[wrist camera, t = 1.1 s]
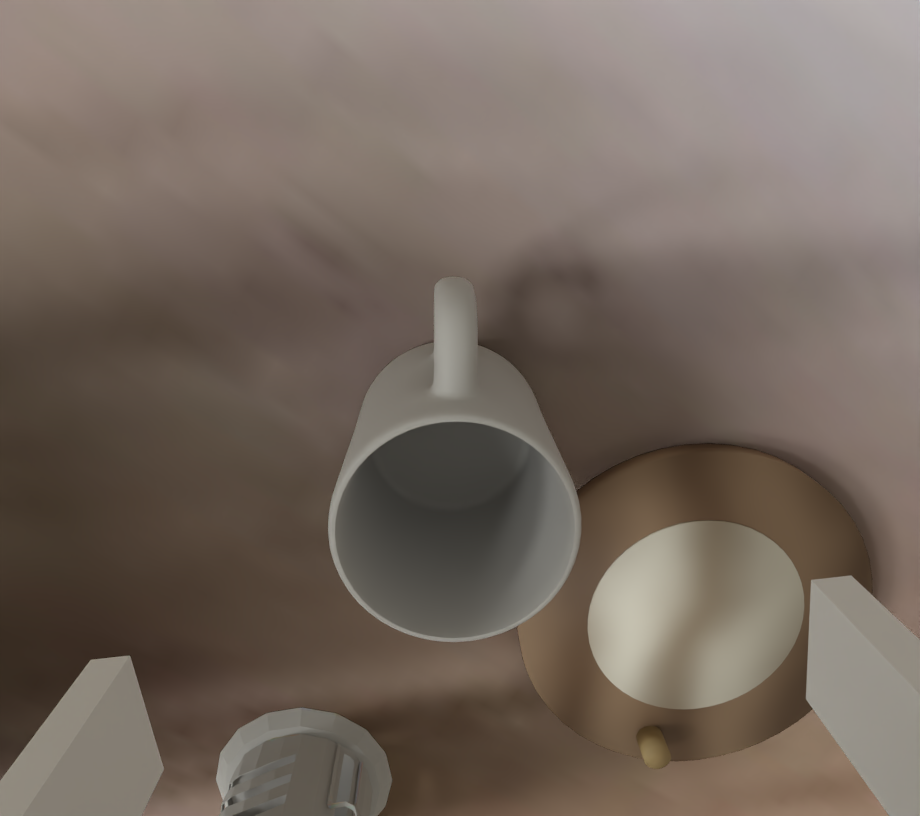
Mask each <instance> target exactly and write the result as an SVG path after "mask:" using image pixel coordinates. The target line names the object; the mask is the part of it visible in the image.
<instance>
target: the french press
mask: <svg viewBox="0 0 920 816" xmlns="http://www.w3.org/2000/svg"><path fill="white" fill-rule="evenodd" d="M216 781H217V784H218V787H219V790H220V793H221V796H222V799H223V802H222V805H221V813H220V815H219V816H378V815H379V813H380V812H381V811H382V810H383V809H384V808H385V806H386V803H387V799H388V795H389V791H390V787H391V783H392V777H391V773H390V768H389V764H388V760H387V756H386V753H385V752H384V750H383V749H382V748H381V747H380V746H379V744H378V743H377V742H376V741H375V739H374V738H373V737H372V736H371V735H370V733H369V732H368V731H367V730H366V729H364V728H363V727H361V726H359V725H357V724H355V723H353V722H352V721H350V720H348V719H346V718H344V717H343V716H341V715H339V714H337V713H332V712H326V711H320V710H314V709H308V708H302V707H301V708H295V709H289V710H282V711H276V712H270V713H266V714H264V715H262V716H261V717H259V718H257V719H255V720H253V721H252V722H250V723H248V724H246V725H244V726H243V727H241V728H239V729H238V730H237V731H236V733H235V734H234V735H233V737H232V738H231V739H230V741H229V742H228V743H227V745H226V746H225V747H224V748H223V750H222V751H221V752H220V758H219V764H218V770H217V776H216ZM224 805H225V807H226V808H225V809H224Z"/></svg>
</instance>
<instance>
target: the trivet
mask: <svg viewBox="0 0 920 816" xmlns="http://www.w3.org/2000/svg"><path fill="white" fill-rule="evenodd" d="M576 492H577V496H578V499H579V505H580V512H581V538H580V545H579V549H578V553H577V556H576V560H575V563H574V565H573V567H572V570H571V572H570V574H569V576H568V578H567V579H566V581H565V583H564V584H563V586H562V587H561V589H560V590H559V592H558V593H557V594H556V595H555V596H554V598H553V599H552V600H551V601H550V602H549V603H548V604H547V605H546V606H545V607H544V608H543V609H542V610H541V611H540V612H538V613H537V614H535V615H534V616H533V617H531V618H530V619H529V620H527V621H525V622H524V623H522V624H520V625H518V626H517V630H518V636H519V642H520V647H521V653H522V658H523V661H524V664H525V667H526V670H527V672H528V675H529V678H530V679H531V681H532V683H533V685H534V687H535V689H536V691H537V693H538V694H539V696H540V697H541V698H542V700H543V701H544V702H545V704H546V705H547V706H548V708H549V709H550V710H551V711H552V712H553V713H554V714H555V715H556V716H557V717H558V718H559V719H560V720H561V721H562V722H563V723H564V724H566V725H567V726H568V727H570V728H571V729H572V730H574V731H575V732H576V733H577V734H579V735H581V736H582V737H584V738H586V739H588V740H590V741H591V742H593V743H595V744H597V745H599V746H602V747H604V748H607V749H609V750H612V751H614V752H618V753H621V754H625V755H628V756H632V757H637V758H643V759H644V762H645V764H646V765H647V766H648V767H650V768H653V769H660V768H663V767H665V766H666V765H667V764H668V763H669V762H670V761H688V760H700V759H706V758H712V757H718V756H722V755H725V754H729V753H733V752H736V751H740V750H742V749H745V748H748V747H750V746H753V745H755V744H758V743H760V742H762V741H764V740H766V739H768V738H770V737H772V736H774V735H776V734H778V733H780V732H782V731H783V730H785V729H786V728H788V727H789V726H791V725H792V724H794V723H796V722H797V721H799V720H800V719H801V718H802V717H804V716H805V715H806V714H807V713H808V712H810V711H811V710H812V709H813V708H812V707H811V706H810V704H809V703H808V701H807V700H806V683H807V660H808V638H809V616H810V593H811V580H815V579H824V578H833V577H842V576H852V577H853V578H855V579H856V580H857V581H858V582H859V583H860V584H861V585H862V586H863V587H864V588H865V589H866V590H867V591H868V592H869V593H870V594H871V595H872V574H871V568H870V561H869V557H868V553H867V550H866V547H865V544H864V541H863V538H862V536H861V535H860V533H859V531H858V529H857V527H856V525H855V523H854V521H853V520H852V518H851V517H850V516H849V514H848V513H847V511H846V510H845V509H844V507H843V506H842V505H841V504H840V503H839V502H838V501H837V500H836V499H835V498H834V497H833V496H832V495H831V494H830V493H829V492H828V491H827V490H826V489H825V488H824V487H822V486H821V485H820V484H818V483H817V482H816V481H814V480H813V479H812V478H810V477H809V476H808V475H806V474H805V473H803V472H802V471H801V470H799V469H798V468H796V467H795V466H793V465H791V464H789V463H787V462H785V461H783V460H781V459H779V458H777V457H775V456H772V455H769V454H766V453H763V452H760V451H758V450H754V449H749V448H745V447H740V446H735V445H725V444H710V443H707V444H688V445H680V446H675V447H669V448H663V449H659V450H656V451H652V452H649V453H646V454H642V455H639V456H636V457H634V458H632V459H629V460H627V461H625V462H622V463H620V464H618V465H616V466H614V467H612V468H610V469H609V470H607V471H605V472H603V473H602V474H600V475H598V476H597V477H595V478H593V479H592V480H591V481H589V482H588V483H587V484H585V485H584V486H583V487H582V488H580V489H579V490H578V491H576Z"/></svg>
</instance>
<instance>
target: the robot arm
mask: <svg viewBox="0 0 920 816" xmlns="http://www.w3.org/2000/svg"><path fill="white" fill-rule="evenodd" d="M806 700H807V701H808V703H809V704H810V706H811V707H812V708H813V710H814V711H815V713H816V714H817V715H818V717H819V718H820V720H821V721H822V722H823V724H824V725H825V727H826V728H827V729H828V731H829V732H830V734H831V735H832V736H833V738H834V739H835V741H836V742H837V743H838V745H839V746H840V748H841V749H842V750H843V752H844V753H845V755H846V756H847V757H848V759H849V760H850V762H851V763H852V764H853V766H854V767H855V769H856V770H857V771H858V773H859V774H860V776H861V777H862V778H863V780H864V781H865V783H866V784H867V785H868V787H869V788H870V790H871V791H872V792H873V794H874V795H875V797H876V798H877V799H878V801H879V802H880V804H881V805H882V806H883V808H884V809H885V811H886V812H887V813H888V815H889V816H920V640H919V639H918V638H917V637H916V636H915V635H914V634H913V633H912V632H911V631H910V630H909V629H908V628H907V627H905V626H904V625H903V624H902V623H901V622H900V621H899V620H898V619H897V618H896V617H895V616H894V615H893V614H892V613H891V612H890V611H888V610H887V609H886V608H885V607H884V606H883V605H882V604H881V603H880V602H879V601H878V600H877V599H876V598H875V597H874V596H873V595H871V594H870V593H869V592H868V591H867V590H866V589H865V588H864V587H863V586H862V585H861V584H860V583H859V582H858V581H857V580H856V579H855V578H853V577H852V576H842V577H833V578H824V579H815V580H811V593H810V616H809V638H808V660H807V683H806ZM163 770H164V767H163V764H162V761H161V757H160V754H159V751H158V747H157V744H156V741H155V737H154V734H153V731H152V727H151V724H150V721H149V717H148V714H147V710H146V707H145V704H144V700H143V697H142V694H141V690H140V687H139V684H138V680H137V677H136V674H135V670H134V667H133V664H132V660H131V657H130V655H129V656H120V657H111V658H102V659H93V660H90V661H89V663H88V664H87V665H86V667H85V668H84V669H83V671H82V672H81V673H80V675H79V676H78V677H77V679H76V680H75V681H74V683H73V684H72V685H71V687H70V688H69V689H68V691H67V692H66V693H65V695H64V696H63V697H62V699H61V700H60V701H59V703H58V704H57V706H56V707H55V708H54V710H53V711H52V712H51V714H50V715H49V716H48V718H47V719H46V720H45V722H44V723H43V724H42V726H41V727H40V728H39V730H38V731H37V732H36V734H35V735H34V736H33V738H32V739H31V740H30V742H29V743H28V744H27V746H26V747H25V748H24V750H23V751H22V752H21V754H20V755H19V756H18V758H17V759H16V760H15V762H14V763H13V764H12V766H11V767H10V768H9V770H8V771H7V772H6V774H5V775H4V776H3V778H2V779H1V780H0V816H142V814H143V812H144V810H145V808H146V806H147V804H148V802H149V799H150V797H151V795H152V793H153V791H154V789H155V787H156V785H157V783H158V781H159V779H160V777H161V774H162V772H163Z"/></svg>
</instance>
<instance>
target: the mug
mask: <svg viewBox="0 0 920 816" xmlns="http://www.w3.org/2000/svg"><path fill="white" fill-rule="evenodd" d="M328 536H329V545H330V550H331V554H332V557H333V561H334V564H335V566H336V569H337V571H338V573H339V576H340V578H341V579H342V581H343V583H344V584H345V586H346V588H347V589H348V591H349V592H350V593H351V594H352V596H353V597H354V598H355V599H356V601H357V602H358V603H359V604H360V605H361V606H362V607H363V608H365V609H366V610H367V611H368V612H369V613H370V614H372V615H373V616H374V617H376V618H377V619H378V620H380V621H381V622H383V623H385V624H387V625H388V626H390V627H392V628H394V629H396V630H399V631H401V632H403V633H406V634H408V635H412V636H415V637H419V638H422V639H428V640H434V641H444V642H462V641H473V640H478V639H484V638H488V637H491V636H495V635H498V634H501V633H503V632H506V631H508V630H510V629H513V628H515V627H517V626H518V625H520V624H522V623H524V622H525V621H527V620H529V619H530V618H531V617H533V616H534V615H535V614H537V613H538V612H540V611H541V610H542V609H543V608H544V607H545V606H546V605H547V604H548V603H549V602H550V601H551V600H552V599H553V598H554V596H555V595H556V594H557V593H558V592H559V590H560V589H561V587H562V586H563V584H564V583H565V581H566V579H567V578H568V576H569V574H570V572H571V570H572V567H573V565H574V563H575V560H576V556H577V553H578V549H579V545H580V538H581V512H580V505H579V499H578V496H577V492H576V489H575V486H574V483H573V480H572V478H571V476H570V474H569V472H568V469H567V467H566V465H565V463H564V461H563V459H562V457H561V454H560V452H559V450H558V448H557V446H556V444H555V442H554V439H553V437H552V435H551V433H550V431H549V429H548V427H547V424H546V422H545V420H544V418H543V416H542V413H541V411H540V408H539V405H538V402H537V400H536V398H535V396H534V394H533V392H532V389H531V388H530V386H529V384H528V383H527V381H526V380H525V378H524V377H523V376H522V374H521V373H520V372H519V371H518V370H517V369H516V368H515V367H514V366H513V365H512V364H511V363H510V362H509V361H508V360H506V359H505V358H503V357H502V356H500V355H499V354H497V353H495V352H493V351H491V350H489V349H487V348H485V347H482V346H479V345H478V323H477V305H476V297H475V292H474V288H473V285H472V284H471V283H470V282H469V280H467V279H464V278H462V277H454V276H453V277H445V278H443V279H440V280H439V281H438V282H437V283H436V284H435V288H434V343H428V344H425V345H422V346H418V347H415V348H413V349H411V350H409V351H407V352H405V353H403V354H402V355H400V356H399V357H397V358H395V359H394V360H393V361H392V362H390V363H389V364H388V365H387V366H386V367H385V368H384V369H383V370H382V371H381V372H380V373H379V374H378V376H377V377H376V378H375V380H374V381H373V383H372V384H371V386H370V388H369V390H368V392H367V394H366V396H365V398H364V401H363V404H362V407H361V410H360V413H359V417H358V421H357V425H356V428H355V431H354V433H353V436H352V439H351V442H350V445H349V448H348V451H347V454H346V457H345V460H344V462H343V465H342V468H341V471H340V474H339V477H338V480H337V483H336V486H335V489H334V492H333V495H332V499H331V504H330V510H329V517H328Z"/></svg>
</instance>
